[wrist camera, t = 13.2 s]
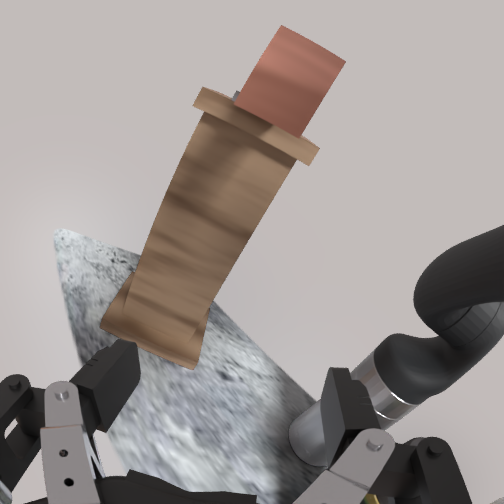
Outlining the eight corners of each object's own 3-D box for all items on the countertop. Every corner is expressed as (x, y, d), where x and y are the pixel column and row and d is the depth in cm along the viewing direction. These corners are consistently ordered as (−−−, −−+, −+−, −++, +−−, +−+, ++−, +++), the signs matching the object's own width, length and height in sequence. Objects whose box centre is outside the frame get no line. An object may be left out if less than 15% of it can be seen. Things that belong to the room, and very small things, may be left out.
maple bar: (298, 138, 12) (346, 61, 10) (233, 104, 11) (281, 25, 9) (277, 121, 26) (298, 85, 24) (248, 105, 25) (269, 70, 23)
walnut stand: (192, 370, 39) (337, 146, 25) (100, 327, 36) (195, 72, 22) (205, 316, 49) (314, 133, 35) (129, 280, 46) (215, 82, 33)
